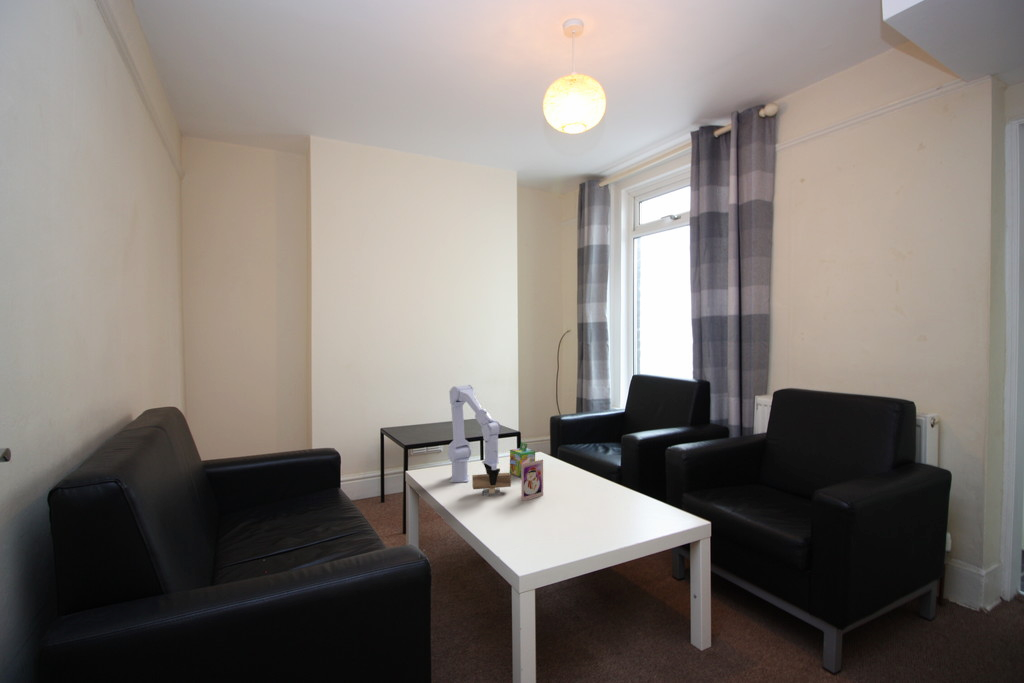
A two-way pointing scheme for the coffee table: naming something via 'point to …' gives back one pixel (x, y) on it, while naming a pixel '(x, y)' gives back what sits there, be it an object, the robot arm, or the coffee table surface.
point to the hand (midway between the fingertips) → (491, 482)
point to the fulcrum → (491, 491)
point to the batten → (484, 482)
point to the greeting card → (531, 479)
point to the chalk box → (520, 458)
